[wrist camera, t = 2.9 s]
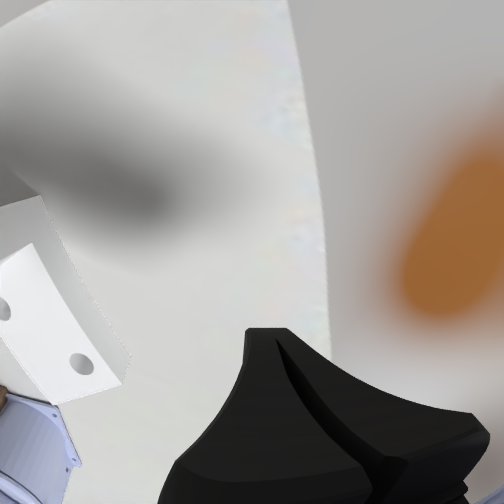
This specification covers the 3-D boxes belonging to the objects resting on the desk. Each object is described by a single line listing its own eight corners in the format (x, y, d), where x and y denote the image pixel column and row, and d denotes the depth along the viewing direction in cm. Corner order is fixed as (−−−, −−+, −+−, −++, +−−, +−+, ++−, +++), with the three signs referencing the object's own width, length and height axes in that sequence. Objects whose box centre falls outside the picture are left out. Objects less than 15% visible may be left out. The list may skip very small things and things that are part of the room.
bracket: (-17, 240, 17) (-80, 273, 10) (41, 194, 17) (-29, 216, 10) (67, 378, 21) (35, 442, 14) (132, 354, 21) (108, 427, 14)
